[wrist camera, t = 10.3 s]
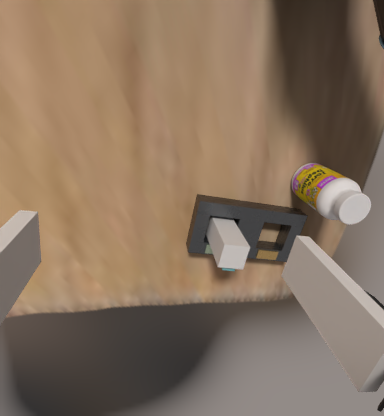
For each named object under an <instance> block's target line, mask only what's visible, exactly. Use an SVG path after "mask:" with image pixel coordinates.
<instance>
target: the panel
mask: <svg viewBox="0 0 384 416" xmlns="http://www.w3.org/2000/svg"><path fill="white" fill-rule="evenodd" d="M210 215H212V216H220V217H228V218H233V220H234V221H235V223H236V225H237V226H238V228H239V230H240V231H241V233H242V234H243V236H244V238H245V239H246V241H247V243H248V244H249V246H250V249H249V252H248V255H247V258H252V259H263V260H273V261H283V262H287V260H288V257H289V254H290V252H291V249H292V246H293V243H294V241H295V238H296V235H297V236H300V233H301V231H302V228H303V226H304V224H305V221H306V219H307V215H306V214H305V213H303V212H302V211H301V210H300V209H296V208H289V207H282V206H275V205H268V204H261V203H254V202H247V201H240V200H233V199H226V198H219V197H212V196H205V195H198V194H197V197H196V202H195V206H194V211H193V215H192V220H191V224H190V229H189V233H188V238H187V242H186V245H187V249H188V252H191V253H201V254H212V255H213V252H212V249H211V247H210V244H209V241H208V238H207V236H206V235H205V234H206V230H207V226H208V222H209V218H210ZM264 222H267V223H274V224H282V226H281V229H280V231H279V234H278V237H277V239H276V242H266V241H258V239H259V236H260V233H261V231H262V228H263V225H264Z"/></svg>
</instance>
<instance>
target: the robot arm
mask: <svg viewBox="0 0 384 416" xmlns="http://www.w3.org/2000/svg"><path fill="white" fill-rule="evenodd" d="M373 2H374V7H375V12H376V17H377V22H378V26H379V31H380V36H379V41H380V45H381V46H382V48H383V49H384V0H373ZM40 262H41V251H40V235H39V220H38V212H34V211H23V210H19V211H18V212H17V213H16V214H15V215H14V216H13V217H12V218H11V219H10V220H9V221H8V222H7V223H5V224H4V225H3V226H2V227H1V228H0V325H1V323H2V322H3V320H4V319H5V317H6V315H7V314H8V312H9V311H10V309H11V308H12V306H13V305H14V303H15V301H16V300H17V298H18V297H19V295H20V294H21V292H22V291H23V289H24V287H25V286H26V284H27V283H28V281H29V280H30V278H31V276H32V275H33V273H34V272H35V270H36V269H37V267H38V266H39V264H40ZM282 277H283V279H284V280H285V282H286V283H287V285H288V286H289V288H290V289H291V291H292V292H293V294H294V295H295V297H296V298H297V300H298V301H299V303H300V304H301V306H302V307H303V309H304V310H305V312H306V313H307V315H308V316H309V318H310V319H311V321H312V322H313V324H314V325H315V327H316V328H317V330H318V331H319V333H320V334H321V336H322V337H323V339H324V340H325V342H326V344H327V345H328V346H329V348H330V349H331V351H332V353H333V354H334V355H335V357H336V359H337V360H338V361H339V363H340V365H341V366H342V368H343V369H344V371H345V372H346V373H347V375H348V377H349V378H350V380H351V381H352V383H353V384H354V386H355V387H356V389H357V390H358V392H373V391H377V390H378V388H379V387H380V385H381V384H382V382H383V381H384V306H383V305H382V304H381V303H380V302H379V301H378V300H377V299H376V298H375V297H374V296H372V295H371V294H369V293H368V292H366V291H365V290H363V289H362V288H361V287H360V286H359V285H358V284H357V283H356V282H354V281H353V279H352V278H351V277H349V276H348V275H347V274H346V273H345V272H344V271H343V270H342V269H341V268H340V267H339V266H338V265H337V264H336V263H335V262H334V261H333V260H332V259H331V258H330V257H329V256H328V255H327V254H326V253H325V252H324V251H323V250H322V249H321V248H320V247H319V246H318V245H317V244H316V243H315V242H314V241H313V240H312V239H311V238H310V237H308V236H297V235H296V238H295V241H294V243H293V246H292V249H291V252H290V254H289V257H288V260H287V262H286V265H285V268H284V270H283V273H282ZM383 408H384V399H383V400H382V402H381V403H380V404H379V406H378V410H379V411H382V410H383Z"/></svg>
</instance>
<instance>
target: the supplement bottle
mask: <svg viewBox="0 0 384 416" xmlns="http://www.w3.org/2000/svg"><path fill="white" fill-rule="evenodd" d="M291 186H292V190H293V192H294V193H295V194H296V195H297V196H298V197H299V198H300V199H302V200H303V201H304V202H305V203H307V204H308V205H309V206H311V207H312V208H313V209H314V210H316V211H317V212H318V213H320V214H321V215H322V216H324V217H325V218H327V219H331V220H340V221H341V222H343V223H345V224H355V223H358V222H360V221H361V220H363V219H364V218H365V217H366V216H367V215H368V213H369V211H370V208H371V201H370V199H369V197H367V196H366V195H365V194H363V193H362V192H361V189H360V187H359V185H358V184H357V183H356V182H355V181H353V180H351V179H349V178H347V177H345V176H343V175H341V174H339V173H337V172H335V171H333V170H331V169H329V168H326V167H324V166H322V165H320V164H317V163H309V164H305V165H303V166H302V167H300V168H299V169H298V170H297V171H296V172H295V174H294V176H293V178H292V182H291Z"/></svg>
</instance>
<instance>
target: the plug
mask: <svg viewBox="0 0 384 416" xmlns="http://www.w3.org/2000/svg"><path fill="white" fill-rule="evenodd" d="M206 236H207V238H208V241H209V244H210V247H211V249H212V252H213V255H214V258H215V261H216V263H217V266H218V267H221V268H222V270H227V271H235V269H243V268H244V265H245V261H246V258H247V255H248V252H249V249H250V246H249V244H248V243H247V241H246V239H245V238H244V236H243V234H242V233H241V231H240V230H239V228H238V226H237V225H236V223H235V221H234V220H233V218H228V217H220V216H212V215H210V218H209V222H208V226H207V230H206Z"/></svg>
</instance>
